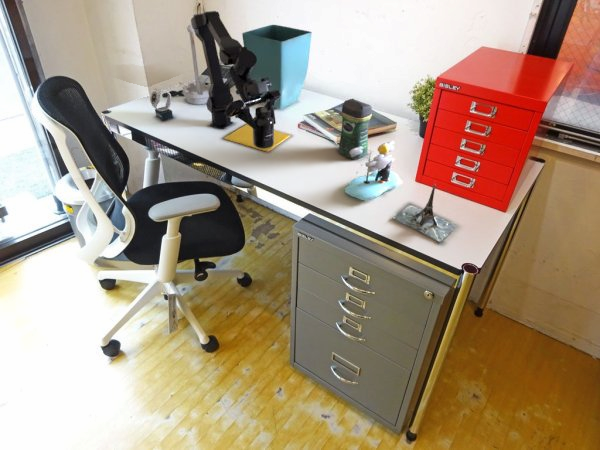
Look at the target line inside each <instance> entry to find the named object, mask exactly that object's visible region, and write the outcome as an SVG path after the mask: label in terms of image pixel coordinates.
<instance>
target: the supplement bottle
mask: <svg viewBox="0 0 600 450" xmlns="http://www.w3.org/2000/svg"><path fill="white" fill-rule="evenodd" d="M254 112H255V113H254V115H255V116H254V117H253V119H254V121H255V123H256V125H257V128H258V130H257V131H255V130H254V129H253V144H254V146H256V147H257V148H262V149H265V148H270V147H272V146H273V144H274V130H275V124H274V120H273V118H272V117H271V110H270V108H268V107H264V106H258V107H256V108H255V111H254Z"/></svg>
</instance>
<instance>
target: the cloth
mask: <svg viewBox="0 0 600 450" xmlns="http://www.w3.org/2000/svg"><path fill="white" fill-rule="evenodd" d="M289 137H291V135H290V134H288V133H285V132H281V131H279V130H275V129H274V144H273V146H272V147H270V148H265V149H262V148H257V147H256V146H254V144H253V128H252V127H250V126H249V125H248V124H247V123H245V125H243V126H241V127H240V128H238V129H236V130H235V131H233V132H231V133H230V134H228V135H226V136H225V137H224V140H227V141H231V142H234V143H237V144H241V145H243V146H247V147H249V148H253V149H256V150H260V151H264V152H267V153H268V152H270V151H271V150H273V149H274V148H276V147H277V146H278V145H280V144H282V142H284V141H285V140H286V139H288V138H289Z"/></svg>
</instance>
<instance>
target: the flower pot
mask: <svg viewBox="0 0 600 450" xmlns="http://www.w3.org/2000/svg"><path fill="white" fill-rule="evenodd" d="M241 35H242V44H243V47H247V50H250V51H251V52H253V53H254V54H255V55H256V57H257V63H256V65H255V67H254V68H253V70H252V72H251V74H250V77H251V79H252V80H255V81H256V82H257V83H259V82H261V79H262V78H265V77H268V78H269V80H270V81H271V85H272V86H271V87H269V88H268V90H269V91H271V90H274V89H277V90H279V91H280V93H281V95H282V96H281V97H280V98H279V99H278V100H277V101H276V102H275V103H274V109H278V110H283V109H285V108H286V107H288V106H291V105H293V104H294V103H297V102H298V101H299V98H300V96H301V93H302V91H303V88H304V85H305V82H306V78H307V74H308V68H309V60H310V52H311V51H310V50H311V44H312V43H311V42H312V35H313V34H312V31H309V30H304V29H299V28H295V27H291V26H290V27H289V26H284V25H280V24H279V25H278V24H269V25H266V26H262V27H258V28H254V29H251V30H248V31H244V32H242V33H241ZM267 92H268V91H267ZM267 92H266V91H264V92H263V95H261V96H260V97H263V96H264V95H265V94H266V93H267ZM260 105H263V103H261V104H260Z"/></svg>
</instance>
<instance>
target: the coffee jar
mask: <svg viewBox="0 0 600 450" xmlns="http://www.w3.org/2000/svg"><path fill="white" fill-rule="evenodd" d="M372 111H373V110H372V105H371V104H368V103H365V102H364V101H361V100H357V99H355V98H350V99H347V100H345V101H344V102H343V103H342V108H341V119H342V122H341V123H342V124H341V131H340V138H339V145H338V151H339V153H340V154H341V155H343V156H345V157H348V158H350V159H353V160H357V159H362V158H365V157H366V156H367V155H368V147H369V146H368V145H369V144H368V143H369V124H370V120H371V118H372V113H373V112H372ZM360 146H361V147H362V149H361V150H362V151H363V152H362V153H361V154H359V155H356V156H354V157H351V154H349V152H350V151H351V150H352V149H354V148H357V147H360Z"/></svg>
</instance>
